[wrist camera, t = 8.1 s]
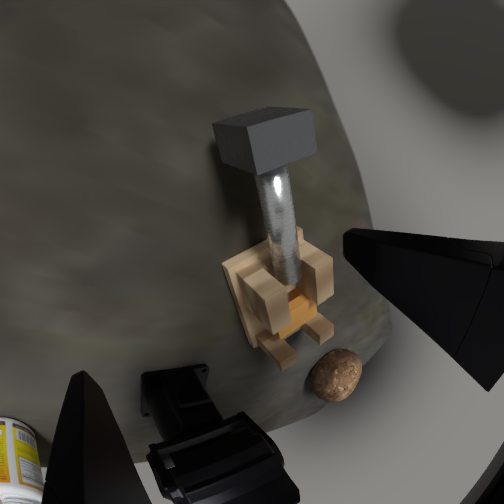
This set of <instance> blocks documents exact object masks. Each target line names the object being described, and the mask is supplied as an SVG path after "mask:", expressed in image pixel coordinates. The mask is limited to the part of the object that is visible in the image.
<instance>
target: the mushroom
mask: <svg viewBox="0 0 504 504" xmlns="http://www.w3.org/2000/svg"><path fill="white" fill-rule="evenodd" d="M361 373H362V362H361V360H360V358H359V357H358V356H357V354H356V353H354V352H352V351H350V350H347V349H336V350H334V351H332V352H330V353H327V354H326V355H325V356H324V357H323V358H322V359H320V360H319V361H318V363H317V364H316V366H315V367H314V368H313V370H312V374H311V378H310V383H311V388H312V391H313V392H314V393H315V394H316V395H317V397H318V398H320V399H322V400H324V401H326V402H339V401H341V400H343V399H345V398H347V396H348V395H349V394H351V392H352V391H353V390H354V388H355V387H356V385H357V383H358V381H359V378H360V375H361Z"/></svg>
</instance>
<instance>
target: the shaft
mask: <svg viewBox="0 0 504 504" xmlns="http://www.w3.org/2000/svg"><path fill="white" fill-rule="evenodd" d="M212 126H213V130H214V134H215V137H216V141H217V145H218V149H219V153H220V157H221V161H222V162H223V163H225V164H228V165H231V166H233V167H236V168H239V169H241V170H244V171H246V172H249V173H252V174H254V178H255V182H256V187H257V192H258V196H259V201H260V206H261V210H262V215H263V220H264V225H265V230H266V234H267V239H268V244H269V249H270V254H271V259H272V264H273V269H274V274H275V278H276V280H278V281H279V282H280V283H281V284H282V285H292V284H295V283H297V282H299V281H300V280H301V278H302V276H303V274H302V265H301V257H300V250H299V242H298V235H297V227H296V220H295V213H294V206H293V200H292V193H291V187H290V180H289V174H288V168H287V164H288V163H291V162H293V161H296V160H299V159H301V158H304V157H307V156H309V155H312V154H315V153H317V146H316V138H315V131H314V124H313V117H312V110H311V109H300V108H284V107H266V108H262V109H258V110H255V111H251V112H247V113H244V114H240V115H237V116H234V117H230V118H227V119H224V120H221V121H218V122H214V123H212Z"/></svg>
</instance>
